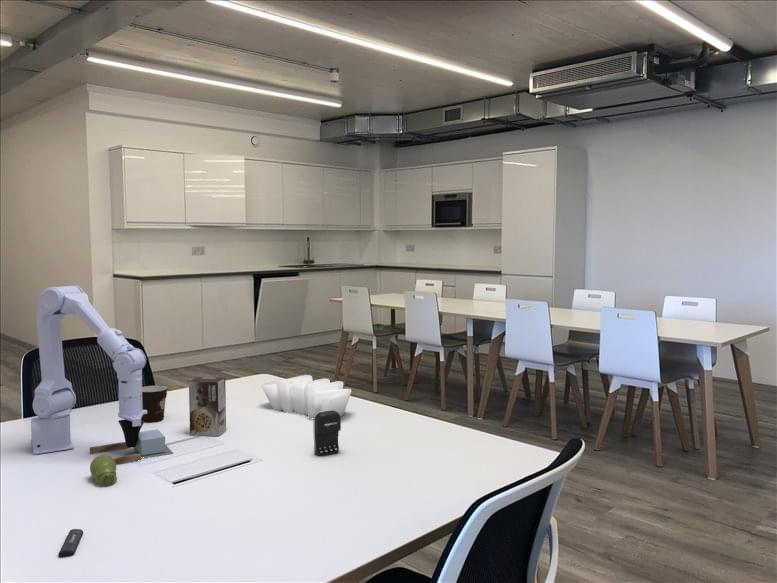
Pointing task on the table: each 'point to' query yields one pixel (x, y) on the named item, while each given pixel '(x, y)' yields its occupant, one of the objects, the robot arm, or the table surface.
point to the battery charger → (326, 432)
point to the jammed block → (150, 442)
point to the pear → (104, 470)
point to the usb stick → (71, 543)
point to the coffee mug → (153, 403)
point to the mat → (167, 451)
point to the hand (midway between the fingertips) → (131, 446)
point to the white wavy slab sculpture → (307, 395)
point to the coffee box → (207, 406)
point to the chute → (116, 447)
